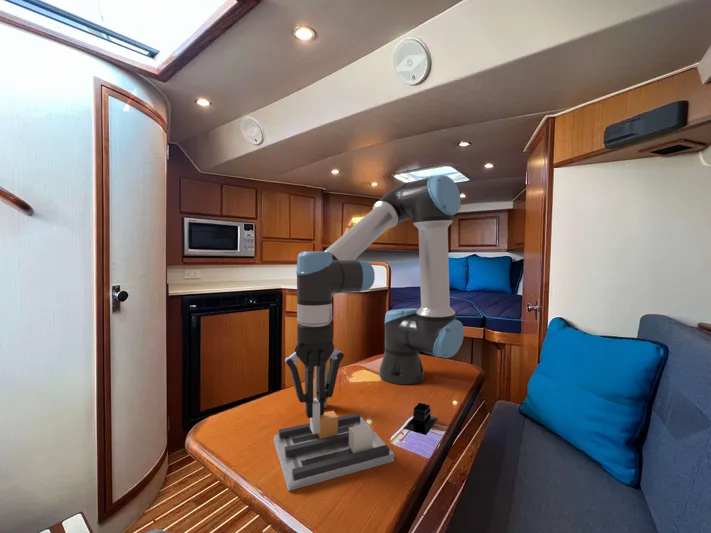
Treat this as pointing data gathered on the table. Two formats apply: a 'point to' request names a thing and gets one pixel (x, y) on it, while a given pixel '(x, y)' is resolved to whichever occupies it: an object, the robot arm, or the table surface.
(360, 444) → the toggle
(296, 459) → the panel
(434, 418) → the black notched stand
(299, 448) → the slotted rail tray
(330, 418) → the toggle
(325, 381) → the handle
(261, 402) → the table surface
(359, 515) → the table surface
